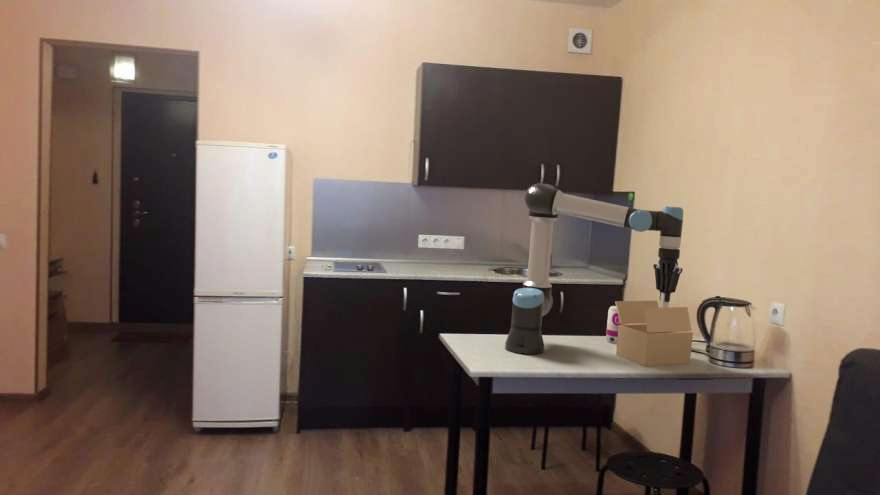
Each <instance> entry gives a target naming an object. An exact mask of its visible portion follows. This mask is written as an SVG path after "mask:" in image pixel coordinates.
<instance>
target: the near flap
mask: <svg viewBox="0 0 880 495" xmlns="http://www.w3.org/2000/svg"><path fill="white" fill-rule="evenodd" d="M688 308H689V307H688V306H678V307H676V306H674V307H673V306H672V307H670V306H668V307H666V308H660V307H659V308H644V313H645V319H646V323H645V324H646V326H647V332H674V331H690V332H692V326H691V320H690V313H689V309H688Z"/></svg>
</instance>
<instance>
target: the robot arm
mask: <svg viewBox="0 0 880 495" xmlns="http://www.w3.org/2000/svg"><path fill="white" fill-rule="evenodd" d="M524 203H525V205H526V207H527V208H528V218H529V219H530V220H531V226H530V227H531V228H530V240H529V241H530V242H529V253H528V254H529V255H528V264H527V265H528V267H527V278H526V280H525V281H524V282H523V283H522V288H521V287H520V288H517V289H515V291H514V292H513V297H512V308H511V311H512V312H511V324H510V329H509V333H508V335H507V338H506V340H505V343H504V344H505V345H504V348H505V350H506V351H510V352H512V351H513V352H512V353H515V352H517V353H516V354H521V353H525V354H524V355H539V353H540V354H543V353H544V352H545V344H544V338H543V335H542V325H543V324H542V322H543V317H544V316H546V315H548V314H549V312H550V311H551V309H552V307H553V303H554V302H553V301H554V300H553V295H552V288H553V286H552V284H551V283H550V282H549V280H550V279H549V278H550V268H551V266H550V265H551V253H552V244H553V241H552V240H553V230H554V223H555V222H556V221H557V220H558V219H559V218H558V217H559V216H558V215H559V214H561V215H565V216H570V217H575V218H580V219H583V220H587V221H594V222H596V223H597V222H598V223H602V224H606V225H611V226H615V227H620V228H625V229H629V230H634V231H636V232H638V233H639V232H641V233H643V232H645V231H655V232H658V231H659V233H660V234H659V242H658V246H659V248H658V252H657V254H658V255H657V257H658V258H659V259H658V262H657V263H655V264H653V269H654V276H655V278H654V279H655V288H656V290H657V291H659V301H660V302H659V308H666V307H669V303H670V301H671V295H672V293H676V290H677V287H678V283H679V280H680V275H681V274H682V272H683V268H681V267H680V266H679V263H678V260H679V259H680V254H681V251H680V248H681V243H682V242H681V241H682V231H683V222H684V209H683V208H682V207H680V206H667V205H666V206H665V205H664V206H663V207H662V209H661V210H647V209H637V208H635V207H628V206H623V205H619V204H614V203H610V202H604V201H601V200H600V201H599V200H596V199H592V198H587V197H581V196H578V195H577V196H576V195H573V194H567V193H563V192H562V190H560V189H558V188H557V187H556V186H554V185H553V184H549V183H535V184H532V185H530V186H529V187H528V188H527V190H526V191H525V194H524Z"/></svg>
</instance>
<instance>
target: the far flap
mask: <svg viewBox="0 0 880 495" xmlns="http://www.w3.org/2000/svg"><path fill="white" fill-rule="evenodd" d="M614 303H615V306H616V308H617V312H618V316H619V320H620V324H627V325H631V324H646V319H645V313H644V308H660V305H659V304H658V303H659V302H658V300H617V301H614Z"/></svg>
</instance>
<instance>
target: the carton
mask: <svg viewBox="0 0 880 495" xmlns="http://www.w3.org/2000/svg"><path fill="white" fill-rule="evenodd" d="M693 333H694V332H693V331H674V332H647V326H646V323H631V324H627V325H619V327H618V339H617V344H616V351H615V352H616V353H615V355H616V356H617V357H620V358H622V359H625V360H627V361H629V362H632V363H635V364H637V365H639V366H642V367H656V366H657V367H658V366H670V365H671V366H672V365H687V364H688V365H689V364H690V363H691V357H692V356H691V354H692V346H693V345H692V344H693V343H692V342H693V336H694V335H693Z"/></svg>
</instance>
